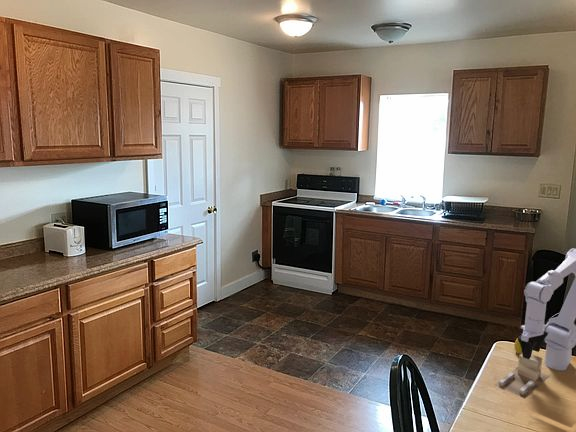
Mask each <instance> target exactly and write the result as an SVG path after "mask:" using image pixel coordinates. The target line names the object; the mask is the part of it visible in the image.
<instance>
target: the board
mask: <svg viewBox="0 0 576 432" xmlns="http://www.w3.org/2000/svg"><path fill="white" fill-rule="evenodd" d="M549 377H550V375H548V374H546V373H543V372H541V374H540V377H539V378H538V379H537V380H536V381H535V380H532V379H529V378H527V377H524V376H522V375H519V374H518V366H517V367H516V368H515V369H513V370H512V371H510V372H509V373H507V374H506V375H505V376H503V378H501V379H500V380H499V381H497V382H496V383H495V384H494V386H496V387H497V388H500V389H502V390H504V391H507V392H510V393H512V394H515V395H516V396H519V397H522V398H523V399H526V398H527V397H528V396H529V395H531V393H533V391H534V390H536V389H537V388H538V387H539V386H541V385H542V384H543V383H544V382H545V381H546V380H547V379H548V378H549Z"/></svg>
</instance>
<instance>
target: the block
mask: <svg viewBox="0 0 576 432" xmlns="http://www.w3.org/2000/svg"><path fill="white" fill-rule="evenodd" d="M518 357H519V358H518V364H517V365H518V366H517V367H518V374H519V375H522V376H524V377H527V378H529V379H532V380H535V381H536V380H537V379H538V378H539V377H540V374H541V373H542V365H543V364H542V363H543V357H541V356H538V355H535V354H533V353H532V354H531V357H530V359H526V358H524V357H523V355H522V354H521V355H520V354H518Z"/></svg>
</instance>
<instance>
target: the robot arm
mask: <svg viewBox="0 0 576 432" xmlns="http://www.w3.org/2000/svg"><path fill="white" fill-rule="evenodd" d="M572 273H573V275H574V279H573V281H572V283H571V286H570V289H569V291H568V293H567V295H566V298H565V300H564V303H563V304H562V307H561V309H560V311H559V314H558V316H556V317H552V318H549V320H548V321H547V322H546V324H545V319H546V311H547V302H549V301H550V300H551V298H552V295H554V291H555V290H557V289H558V288H559V287H560V286H562V284H564V279H565V277H567V276H569V275H570V274H572ZM524 288H525V289H524V290H523V292H524V293H523V294H524V296H525V302H526V310H525V318H524V319H525V320H524V324H522V325H520V329H521V330H523V331H522V333H521V335H519V336H518V337H517V338H518V341H519V343H520V346H521V349H522V355H523V357H524V358H526V359H530V357H531V354H532V355H533V351H534V352H536V353H539V352H540V350H541V348H542V346H543V342H544V343H546V346H545V347H546V348H545V355H544V365H545V366H546V367H547V368H550V369H552V370H554V371H555V370H556V371H565V370H567V369H568V366H569V365H570V364H571V360H572V351H573V350H572V349H573V348H575V346H576V324H575V321H576V247H575V248H574V247H573V248H571V249H569V250H568V251H567V252H566V254H565V258H564V260H563V261H562V263H561V264H559V265H558V266H557V267H556V269H554V270H553V269H551V270H548V271H547V272H546V273H545V274H543V275H542V276H541V277H539V278H538V279H537V280H536V281H530V282H528V283H527V284H526V286H525V287H524Z"/></svg>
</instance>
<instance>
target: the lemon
mask: <svg viewBox="0 0 576 432" xmlns="http://www.w3.org/2000/svg"><path fill="white" fill-rule="evenodd" d="M514 350H515V353H517V355H521V354H522V349H521V346H520V343H519V341H518V337H517V338H516V340H515V342H514Z"/></svg>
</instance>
